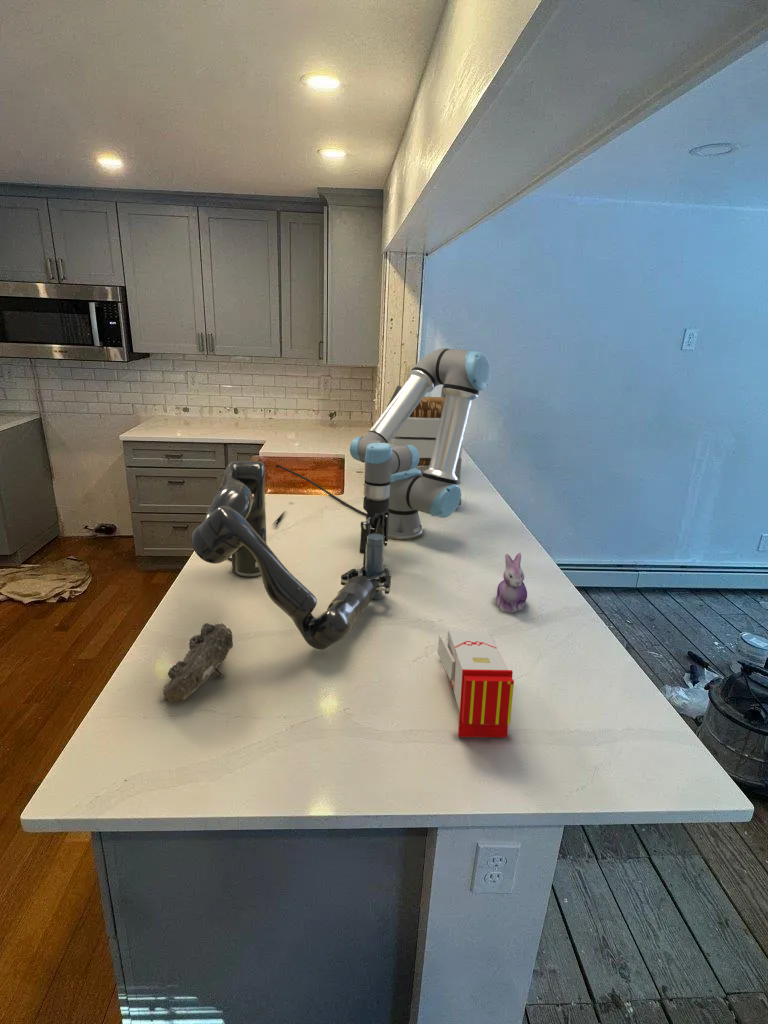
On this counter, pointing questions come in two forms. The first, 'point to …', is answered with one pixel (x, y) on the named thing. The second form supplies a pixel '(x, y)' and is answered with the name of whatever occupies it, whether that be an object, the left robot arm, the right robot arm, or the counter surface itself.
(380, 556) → the jar
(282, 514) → the feather
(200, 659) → the fossil
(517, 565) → the figurine
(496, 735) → the toy
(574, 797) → the counter surface
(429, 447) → the grey slatted crate
